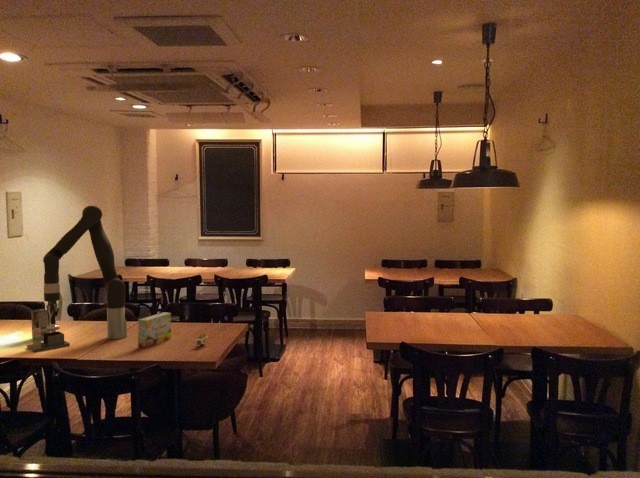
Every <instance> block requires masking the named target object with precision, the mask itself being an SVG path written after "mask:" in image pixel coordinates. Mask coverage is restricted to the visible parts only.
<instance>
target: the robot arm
mask: <svg viewBox="0 0 640 478" xmlns="http://www.w3.org/2000/svg"><path fill="white" fill-rule="evenodd" d="M81 215H82V216H81V218H79V220H78V222H77V223H76V224H75V225H74V226H72V228H71V229H69V230H68V231H67V232H66V233H65V234H63V236H62V237H61V238H60V239H59V240H58V241H57V242H56V244H55V245H54V246H53V247H52V248H50V250H49V251H47V253H46V254H45V255H44V256H43V257H42V258H43V259H42V261H43V265H44V273H43V283H44V284H43V301H44V302H47V305H45V307H46V308H45V309H46V310H47V312H48V315H49V317H50V325H51V324H52V325H53V324H57V323H56V321H57V320H56V317H58V314H59V311H60V308H59V307H58V303H57V301H60V300H61V285H60V274H59V271H60V260H61V259H62V258H63V257H64V255H66V254H68V252H69V251H71V249H72V248H74V246H75V245H76V244H77V242H78V241H79V240H81V238H82V236H83V235H85V234H86V233H87V232H89V235H90V240H91V241H90V242H91V245H92V249H93V252H94V255H95V259H96V261H97V264H98V266H99V269H100V271H101V274H102V279H103V284H104V289H105V291H106V292H107V297H108V298H107V303H106V321H107V322H106V323H107V326H106V327H107V328H106V329H107V333H106V334H107V335H106V336H107V339H108V340H120V339H125V338H127V337H128V335H127V331H128V330H127V319H126V317H125V315H126V314H125V313H126V312H125V308H126V307H125V303H126V300H127V299H126V294H127V293H126V292H127V291H126V284H125V282H124V281H123V280H121V279H120V278H119V275H118V273H117V270H116V266H115V265H116V264H115V254H114V250H113V247H112V244H111V242H110V239H109V237H108V235H107V234H106V231H105V230H104V227H103V224H102V218H103V211H102V209H101V208H100V207H98V206H95V205H88V206H85V207H84V208H83V210H82V212H81Z"/></svg>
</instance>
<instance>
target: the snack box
mask: <svg viewBox="0 0 640 478" xmlns="http://www.w3.org/2000/svg"><path fill="white" fill-rule="evenodd" d="M137 321H138V322H137V326H138V327H137V328H138V329H137V330H138V332H137V333H138V334H137V335H138V336H137V337H138V339H137V343H138V344H137V347H138V348H139V349H148V348H151V347H153V346H156V345H158V343H159V344H161V343H164V342H166V341H165V340H167V341H169V340H171V339H172V312H167V311H166V312H164V311H163V312H159V313H156V314H153V315H150V316H147V317H143V318H139V319H138V320H137ZM170 338H171V339H170ZM168 339H169V340H168ZM163 341H164V342H163Z"/></svg>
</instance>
